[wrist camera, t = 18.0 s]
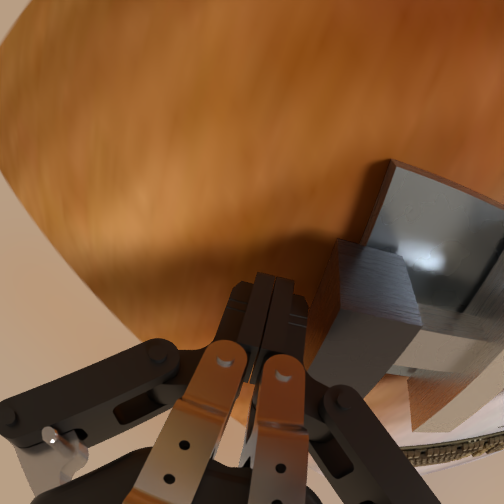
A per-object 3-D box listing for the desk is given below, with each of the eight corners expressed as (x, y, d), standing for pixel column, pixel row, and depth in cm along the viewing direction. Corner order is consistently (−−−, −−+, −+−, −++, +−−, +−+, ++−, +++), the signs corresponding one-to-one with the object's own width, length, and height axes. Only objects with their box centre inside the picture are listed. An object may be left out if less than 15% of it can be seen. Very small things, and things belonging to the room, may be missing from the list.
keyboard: (370, 459, 31) (369, 473, 29) (389, 435, 26) (389, 452, 24) (502, 442, 26) (503, 453, 25) (535, 412, 21) (538, 425, 20)
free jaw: (364, 158, 10) (385, 206, 7) (552, 237, 9) (591, 290, 6) (288, 359, 17) (278, 419, 14) (441, 383, 16) (449, 434, 13)
